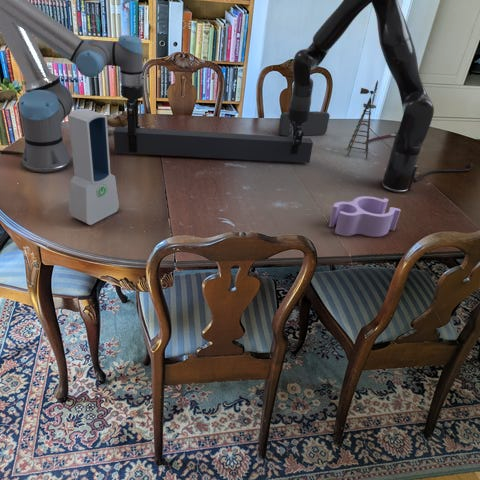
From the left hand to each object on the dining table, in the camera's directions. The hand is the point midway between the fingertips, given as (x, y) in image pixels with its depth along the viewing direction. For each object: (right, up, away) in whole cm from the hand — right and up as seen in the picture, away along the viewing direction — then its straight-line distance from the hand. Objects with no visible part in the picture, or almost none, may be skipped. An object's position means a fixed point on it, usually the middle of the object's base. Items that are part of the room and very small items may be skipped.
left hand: (133, 148), depth 173 cm
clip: (+76, -30, -30) cm, 87 cm away
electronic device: (-3, -27, -38) cm, 46 cm away
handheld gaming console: (+67, +13, +35) cm, 77 cm away
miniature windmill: (+88, +2, +21) cm, 90 cm away
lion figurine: (-12, +9, +16) cm, 22 cm away
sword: (+107, +13, +42) cm, 115 cm away
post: (+29, -2, +4) cm, 30 cm away
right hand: (+59, 0, +6) cm, 60 cm away
